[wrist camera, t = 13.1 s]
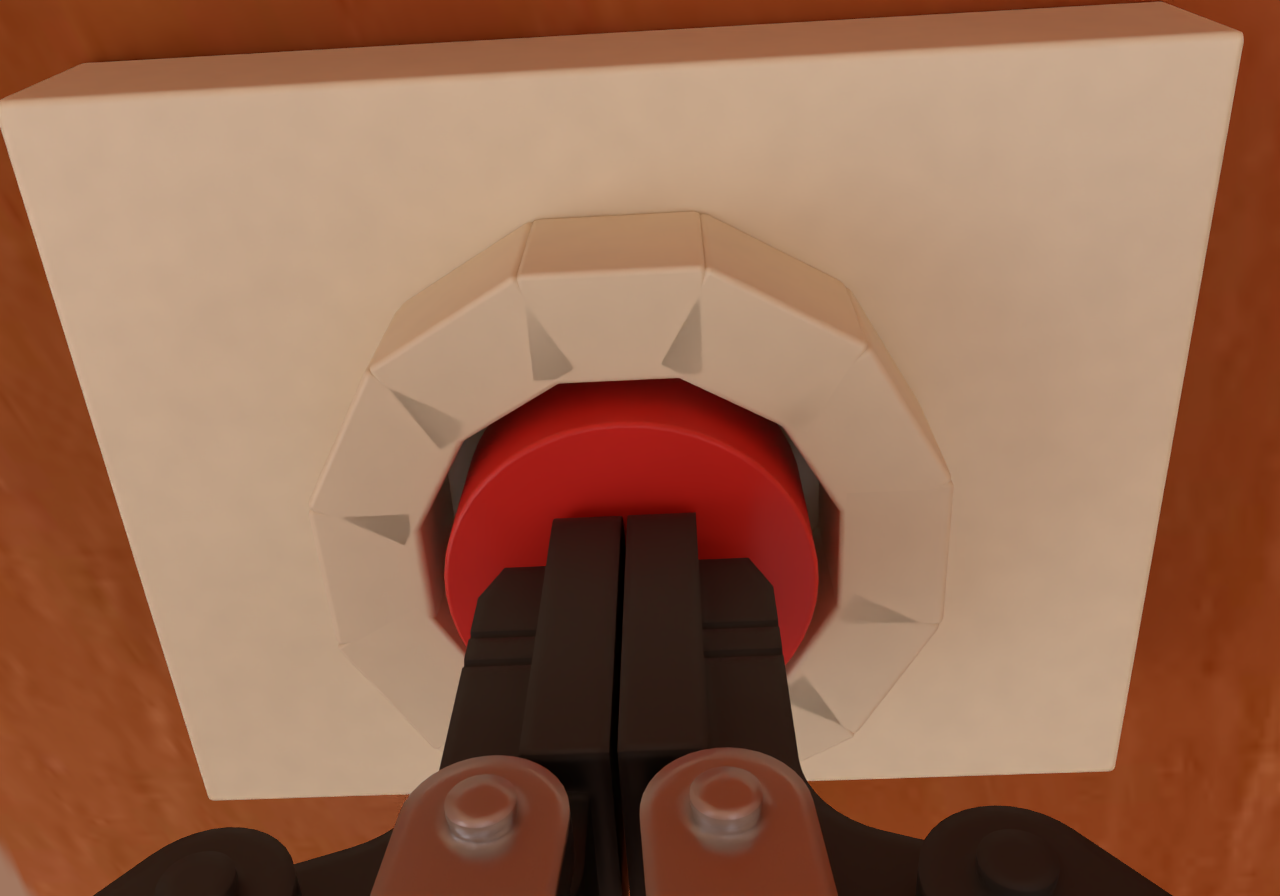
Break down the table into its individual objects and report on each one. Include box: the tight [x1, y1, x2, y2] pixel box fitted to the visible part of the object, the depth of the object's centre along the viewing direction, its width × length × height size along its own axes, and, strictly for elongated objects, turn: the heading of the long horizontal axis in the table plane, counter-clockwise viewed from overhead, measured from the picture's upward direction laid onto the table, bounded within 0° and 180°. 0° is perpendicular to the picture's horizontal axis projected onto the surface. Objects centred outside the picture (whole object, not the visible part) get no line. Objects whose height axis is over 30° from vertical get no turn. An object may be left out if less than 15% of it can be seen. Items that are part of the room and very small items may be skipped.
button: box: [444, 378, 819, 665], centre depth 13 cm, size 4×4×2 cm
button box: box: [0, 1, 1244, 800], centre depth 15 cm, size 13×10×4 cm
